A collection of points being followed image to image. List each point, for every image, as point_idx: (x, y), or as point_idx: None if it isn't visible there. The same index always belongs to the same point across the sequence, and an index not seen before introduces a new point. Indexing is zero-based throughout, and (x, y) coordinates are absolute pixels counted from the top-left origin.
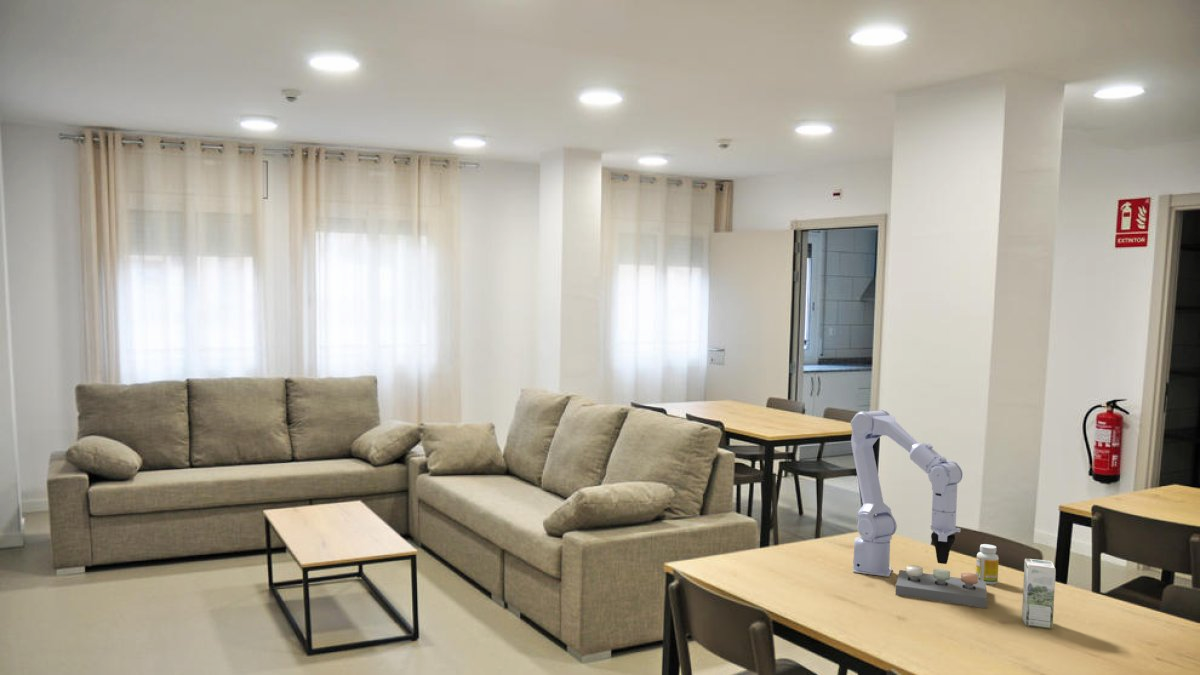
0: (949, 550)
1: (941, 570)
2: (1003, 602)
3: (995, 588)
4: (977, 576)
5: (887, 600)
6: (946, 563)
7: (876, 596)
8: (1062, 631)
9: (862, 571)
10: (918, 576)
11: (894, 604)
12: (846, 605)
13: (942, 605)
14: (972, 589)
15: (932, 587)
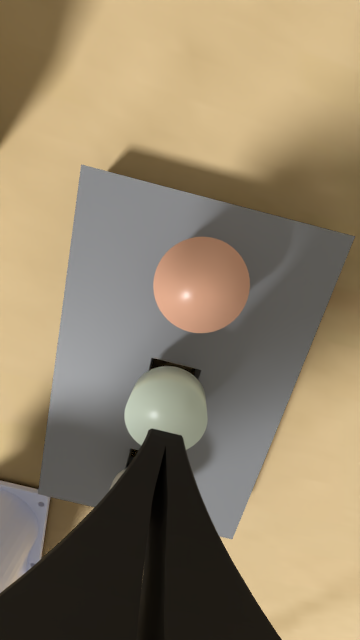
0: (216, 532)
1: (150, 416)
2: (239, 136)
3: (39, 114)
4: (222, 244)
5: (282, 532)
6: (182, 438)
7: (250, 551)
8: None
9: (36, 557)
10: (101, 449)
11: (316, 523)
12: (337, 623)
13: (310, 393)
14: None
15: (235, 431)
